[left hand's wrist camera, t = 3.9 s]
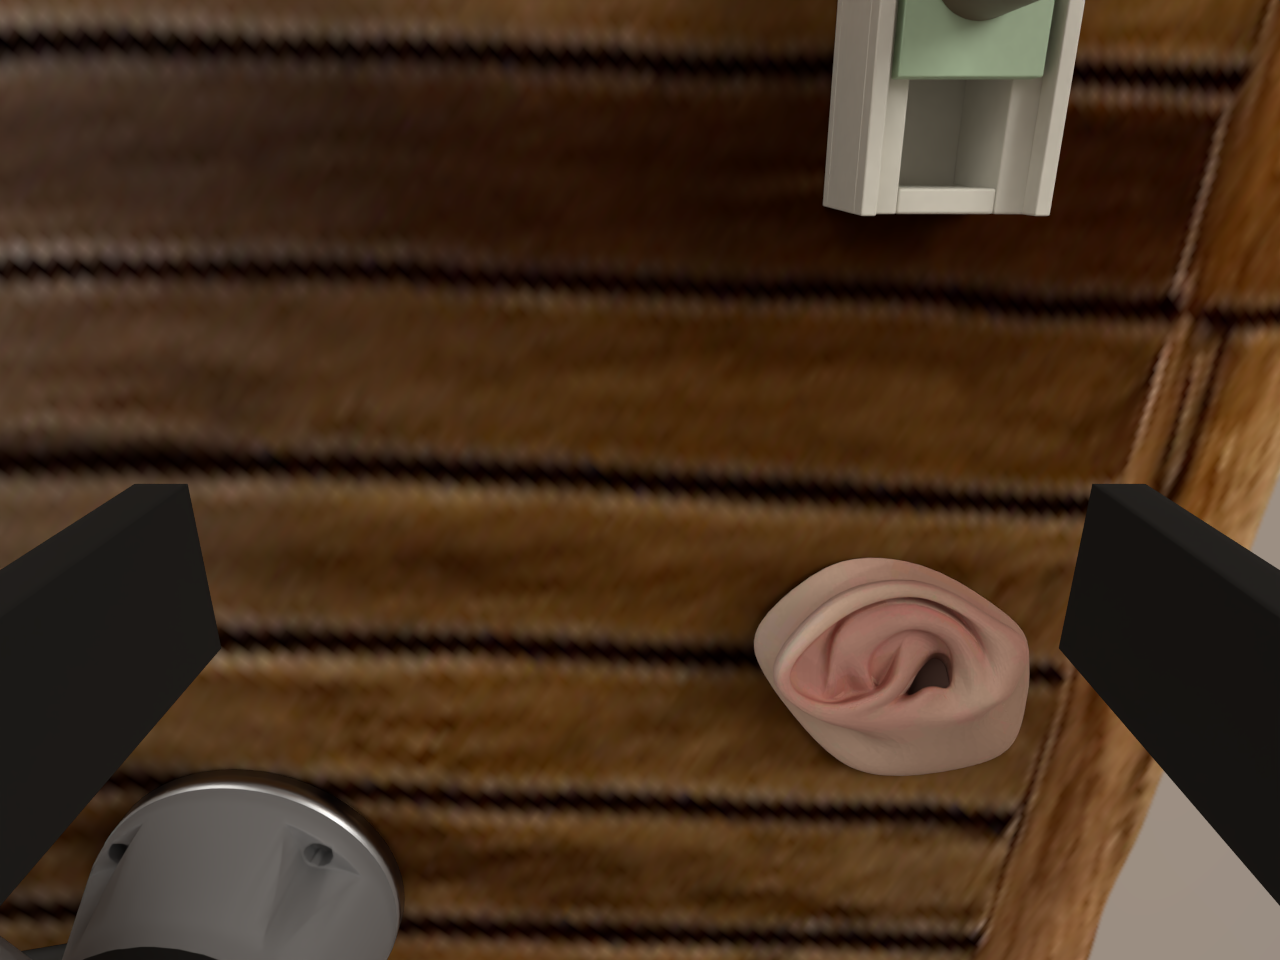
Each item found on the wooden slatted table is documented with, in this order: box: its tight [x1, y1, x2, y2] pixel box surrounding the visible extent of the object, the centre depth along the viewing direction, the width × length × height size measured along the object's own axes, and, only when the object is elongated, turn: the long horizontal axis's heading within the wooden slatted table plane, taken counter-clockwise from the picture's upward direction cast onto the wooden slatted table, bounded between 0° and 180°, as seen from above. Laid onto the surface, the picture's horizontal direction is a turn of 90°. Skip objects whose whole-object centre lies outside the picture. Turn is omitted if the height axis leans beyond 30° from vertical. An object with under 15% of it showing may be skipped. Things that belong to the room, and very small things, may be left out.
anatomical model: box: [754, 558, 1029, 776], centre depth 38 cm, size 13×4×12 cm
